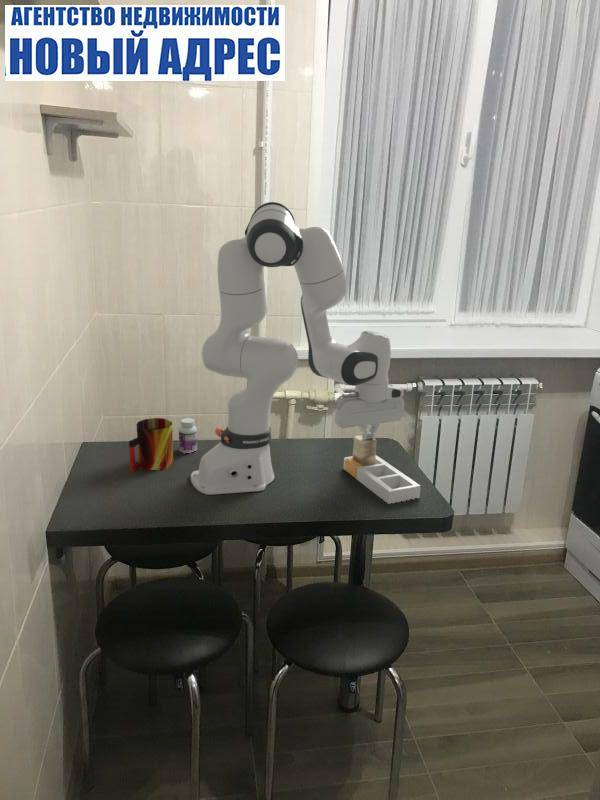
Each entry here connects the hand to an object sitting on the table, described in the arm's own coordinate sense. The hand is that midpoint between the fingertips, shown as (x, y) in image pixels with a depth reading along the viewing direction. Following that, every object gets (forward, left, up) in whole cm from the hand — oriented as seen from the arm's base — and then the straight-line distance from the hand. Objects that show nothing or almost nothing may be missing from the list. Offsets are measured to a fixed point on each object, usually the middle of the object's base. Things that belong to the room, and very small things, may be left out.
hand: (367, 438), depth 177 cm
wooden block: (0, +1, -10) cm, 10 cm away
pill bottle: (-42, +33, -10) cm, 54 cm away
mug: (-54, +25, -10) cm, 60 cm away
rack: (0, -7, -10) cm, 13 cm away
